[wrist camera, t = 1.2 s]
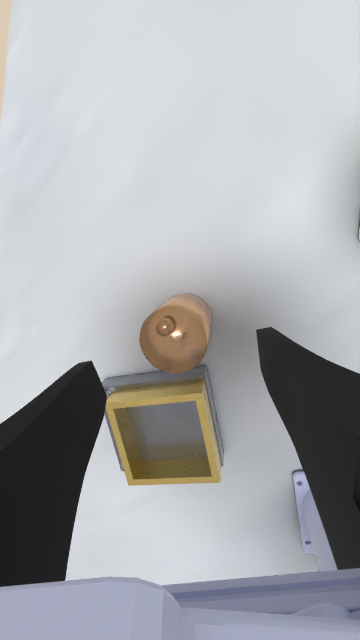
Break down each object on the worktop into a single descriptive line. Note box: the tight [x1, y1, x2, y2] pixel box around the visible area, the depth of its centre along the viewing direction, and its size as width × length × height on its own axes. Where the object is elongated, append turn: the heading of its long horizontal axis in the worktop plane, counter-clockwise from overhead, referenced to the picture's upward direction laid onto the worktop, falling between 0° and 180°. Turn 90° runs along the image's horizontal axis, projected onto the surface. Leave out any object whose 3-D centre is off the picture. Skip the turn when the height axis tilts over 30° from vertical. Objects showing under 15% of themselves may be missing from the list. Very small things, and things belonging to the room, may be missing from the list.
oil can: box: [140, 294, 212, 373], centre depth 20 cm, size 5×5×7 cm
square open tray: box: [102, 365, 224, 485], centre depth 25 cm, size 9×10×4 cm
